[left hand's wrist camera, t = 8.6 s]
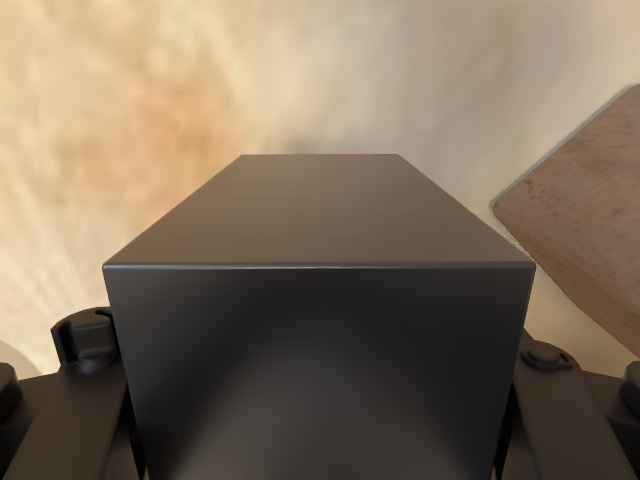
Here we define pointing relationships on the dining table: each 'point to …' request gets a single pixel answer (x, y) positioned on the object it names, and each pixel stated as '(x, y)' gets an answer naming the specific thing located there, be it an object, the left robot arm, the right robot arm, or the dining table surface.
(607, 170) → the wooden block
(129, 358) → the bar
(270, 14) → the dining table surface
